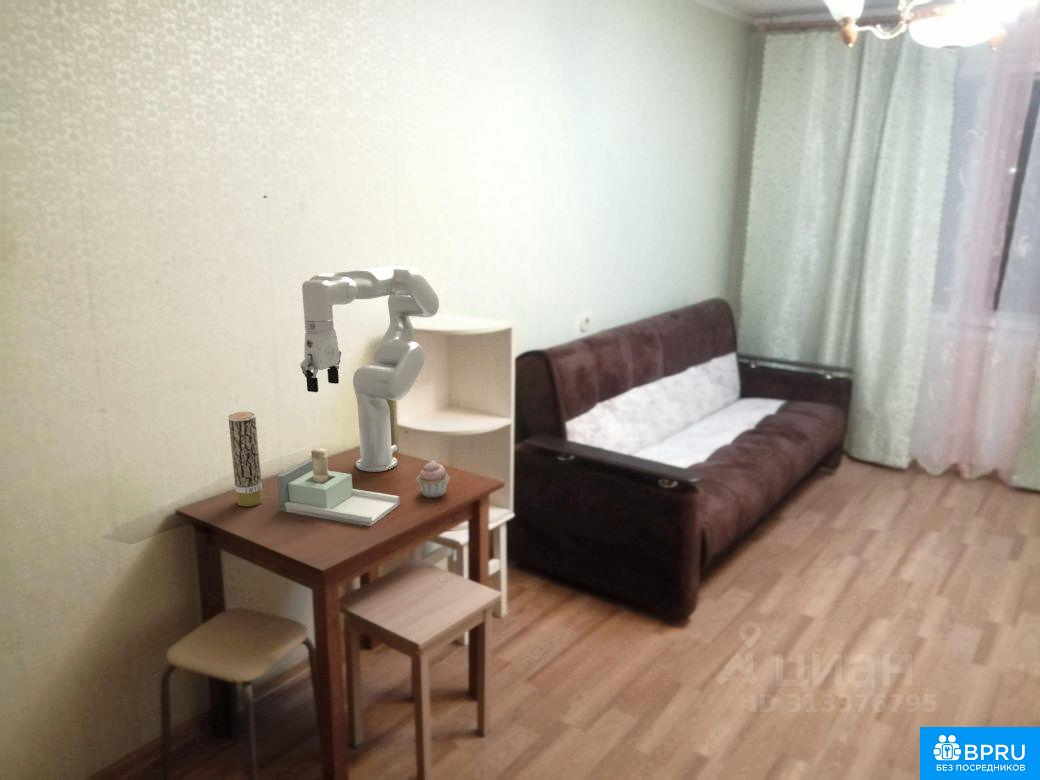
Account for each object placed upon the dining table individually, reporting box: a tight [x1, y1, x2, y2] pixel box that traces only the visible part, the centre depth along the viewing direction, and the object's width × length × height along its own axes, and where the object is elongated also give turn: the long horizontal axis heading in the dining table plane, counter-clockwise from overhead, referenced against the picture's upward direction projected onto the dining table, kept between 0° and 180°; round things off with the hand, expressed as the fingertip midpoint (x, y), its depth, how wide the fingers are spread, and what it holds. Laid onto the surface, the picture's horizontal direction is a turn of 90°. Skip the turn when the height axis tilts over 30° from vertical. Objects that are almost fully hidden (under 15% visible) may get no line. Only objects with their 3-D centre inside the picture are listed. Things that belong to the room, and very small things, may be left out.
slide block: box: [288, 470, 353, 509], centre depth 213 cm, size 12×12×6 cm
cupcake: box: [416, 459, 450, 499], centre depth 220 cm, size 9×9×10 cm
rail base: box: [276, 457, 400, 527], centre depth 210 cm, size 15×28×10 cm, turn 69°
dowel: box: [310, 448, 329, 484], centre depth 211 cm, size 4×4×12 cm
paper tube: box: [227, 411, 264, 507], centre depth 212 cm, size 7×7×25 cm
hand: (323, 387), depth 216 cm, fingers open, 9 cm apart
